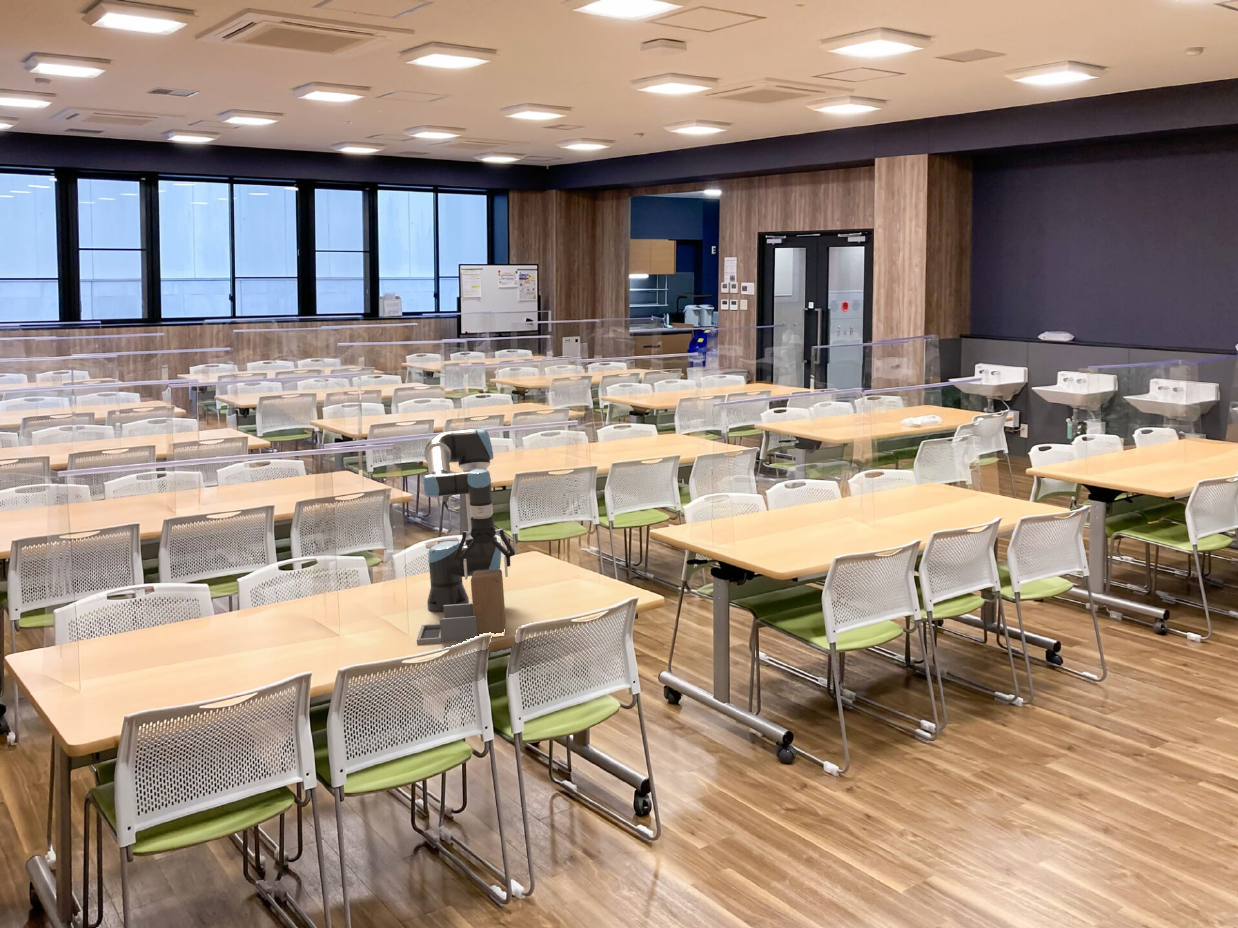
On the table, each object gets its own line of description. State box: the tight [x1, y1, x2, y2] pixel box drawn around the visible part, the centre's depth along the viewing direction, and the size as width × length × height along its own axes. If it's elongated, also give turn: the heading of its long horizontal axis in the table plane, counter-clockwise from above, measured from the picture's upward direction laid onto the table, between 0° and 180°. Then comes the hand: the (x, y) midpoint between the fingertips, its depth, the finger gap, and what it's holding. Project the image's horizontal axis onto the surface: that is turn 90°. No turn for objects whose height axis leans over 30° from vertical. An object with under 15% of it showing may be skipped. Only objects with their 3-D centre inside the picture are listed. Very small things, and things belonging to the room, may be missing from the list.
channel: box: [438, 602, 478, 643], centre depth 396 cm, size 16×12×8 cm
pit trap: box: [416, 623, 442, 645], centre depth 396 cm, size 16×8×2 cm, turn 4°
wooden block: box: [470, 568, 507, 635], centre depth 397 cm, size 10×10×20 cm
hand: (486, 577), depth 395 cm, fingers open, 13 cm apart
